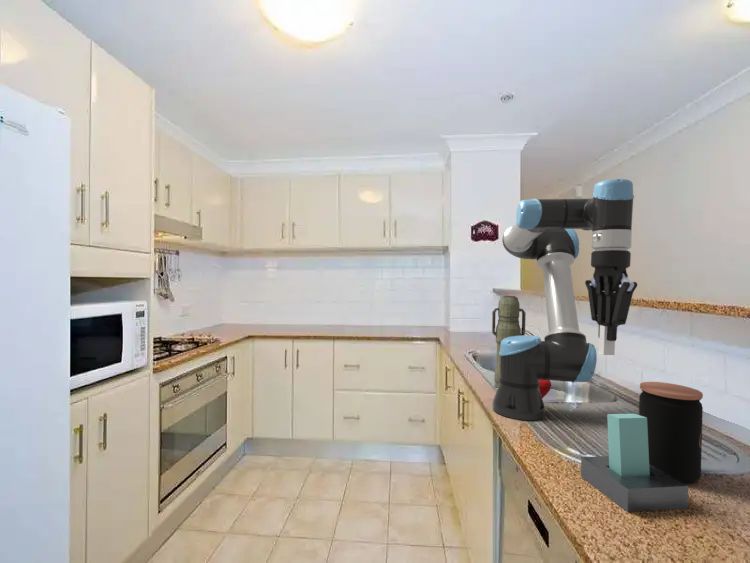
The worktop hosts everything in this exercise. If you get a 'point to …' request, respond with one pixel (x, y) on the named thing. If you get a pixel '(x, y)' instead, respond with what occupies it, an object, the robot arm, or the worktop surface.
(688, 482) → the coffee jar
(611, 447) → the keyed peg
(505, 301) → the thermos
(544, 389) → the strawberry
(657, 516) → the worktop surface
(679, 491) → the block
